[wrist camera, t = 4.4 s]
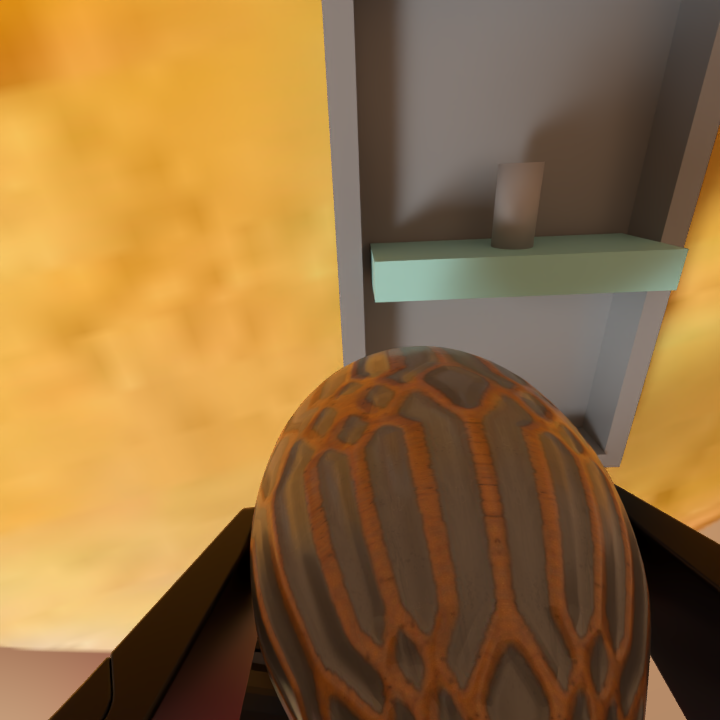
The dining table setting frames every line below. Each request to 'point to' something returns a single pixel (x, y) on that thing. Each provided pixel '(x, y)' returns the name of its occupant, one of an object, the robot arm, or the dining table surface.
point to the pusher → (522, 256)
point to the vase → (445, 553)
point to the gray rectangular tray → (520, 145)
